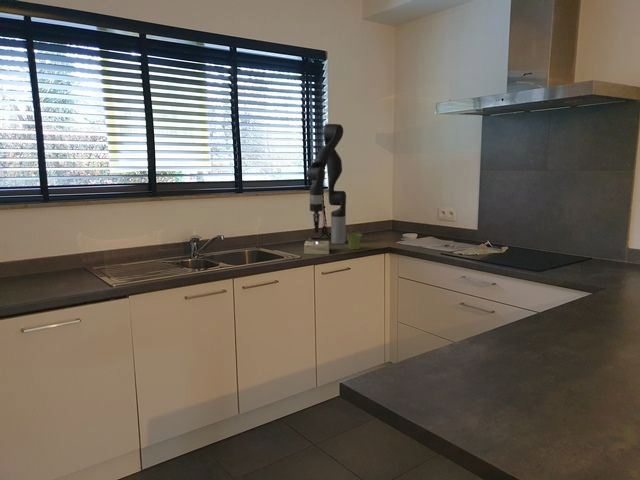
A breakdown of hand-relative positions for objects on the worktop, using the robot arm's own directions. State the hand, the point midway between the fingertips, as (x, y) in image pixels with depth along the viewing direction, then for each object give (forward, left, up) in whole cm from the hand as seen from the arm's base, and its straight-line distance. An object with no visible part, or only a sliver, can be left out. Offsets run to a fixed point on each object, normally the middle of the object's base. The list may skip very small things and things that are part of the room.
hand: (316, 232), depth 271 cm
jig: (+1, 0, -11) cm, 11 cm away
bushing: (+1, +1, -11) cm, 11 cm away
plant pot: (-7, +22, -11) cm, 26 cm away
